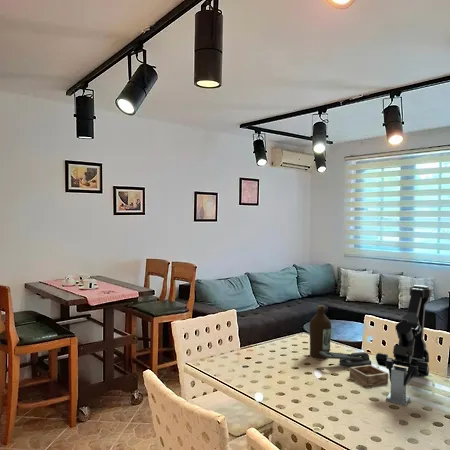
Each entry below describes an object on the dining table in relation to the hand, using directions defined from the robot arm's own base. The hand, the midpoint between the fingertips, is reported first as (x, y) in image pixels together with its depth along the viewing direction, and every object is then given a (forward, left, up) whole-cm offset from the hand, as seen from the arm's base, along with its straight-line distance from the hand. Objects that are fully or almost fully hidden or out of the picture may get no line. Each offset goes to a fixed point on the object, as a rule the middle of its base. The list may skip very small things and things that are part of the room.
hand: (397, 383), depth 159 cm
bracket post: (-1, -1, -7) cm, 7 cm away
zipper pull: (-6, -38, -7) cm, 40 cm away
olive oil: (-2, -54, -7) cm, 54 cm away
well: (-5, -21, -7) cm, 23 cm away
